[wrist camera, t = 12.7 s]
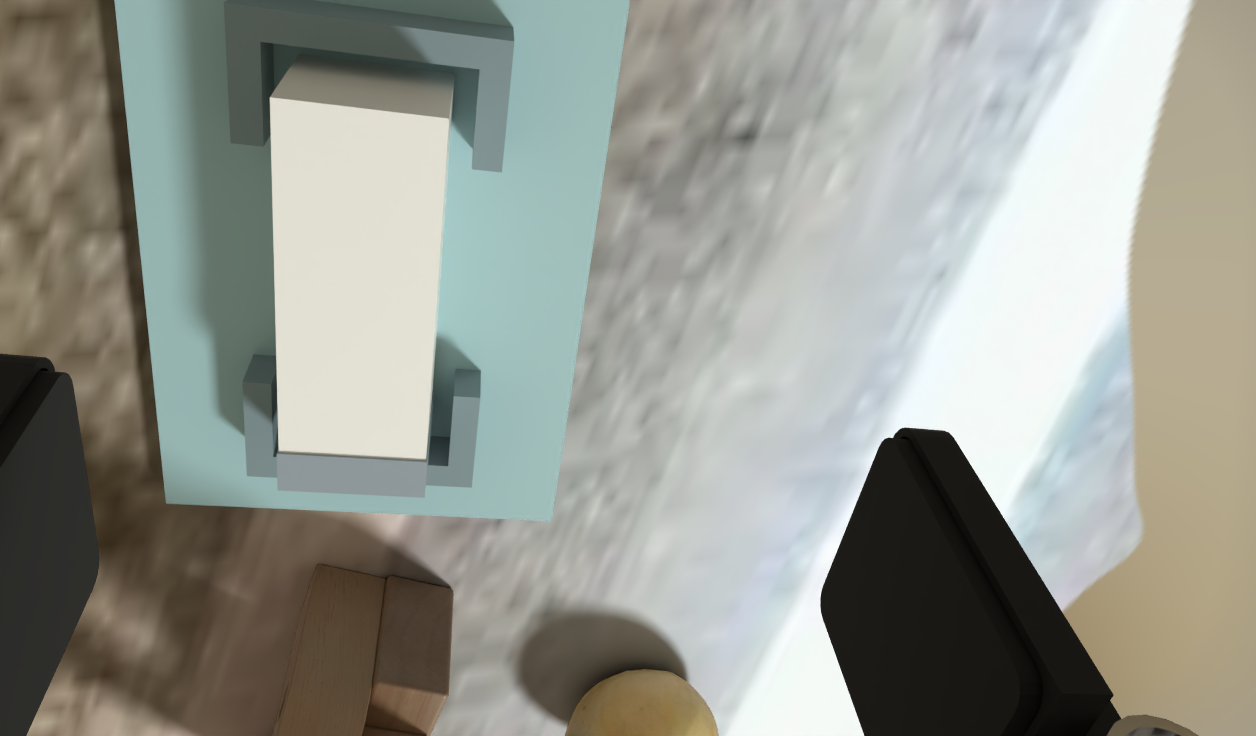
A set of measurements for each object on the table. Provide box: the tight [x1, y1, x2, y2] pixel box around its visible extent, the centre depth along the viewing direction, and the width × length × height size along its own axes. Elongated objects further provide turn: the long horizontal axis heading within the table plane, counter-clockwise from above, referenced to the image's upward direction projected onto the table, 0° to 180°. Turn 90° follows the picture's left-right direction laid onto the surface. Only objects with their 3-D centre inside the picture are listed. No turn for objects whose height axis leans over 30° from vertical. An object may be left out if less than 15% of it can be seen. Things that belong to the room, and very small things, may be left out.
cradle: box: [114, 0, 630, 521], centre depth 36 cm, size 24×16×3 cm, turn 171°
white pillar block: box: [270, 54, 455, 498], centre depth 34 cm, size 14×5×5 cm, turn 171°
